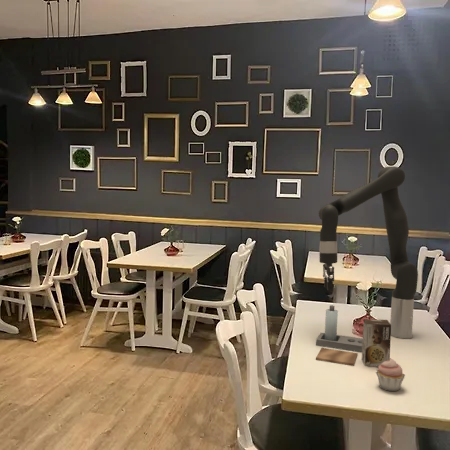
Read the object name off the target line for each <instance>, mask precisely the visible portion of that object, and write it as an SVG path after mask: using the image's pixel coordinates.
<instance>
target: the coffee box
mask: <svg viewBox="0 0 450 450" xmlns="http://www.w3.org/2000/svg"><path fill="white" fill-rule="evenodd" d="M391 337H392V335H391V324H390V321H389V320H388V319H377V318H375V319H373V318H372V319H371V318H363V326H362V338H363V342H362V352H361V361H362V363H363V367H364V366H365V367H379V365H381V364H382V363H383V362H385V361H389V359H390V358H391V339H392V338H391Z"/></svg>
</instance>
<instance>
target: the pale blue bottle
mask: <svg viewBox="0 0 450 450" xmlns="http://www.w3.org/2000/svg"><path fill="white" fill-rule="evenodd" d="M335 308H336V307H335V305H334V304H333V305H329V307H328V309H326V310H325V323H324V324H325V326H324V333H325V340H332V341H336V336H337V335H338V334H337V333H338V316H339V315H338V314H339V313H338V312H339V310H337V309H335Z"/></svg>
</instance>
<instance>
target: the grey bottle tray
mask: <svg viewBox="0 0 450 450" xmlns="http://www.w3.org/2000/svg"><path fill="white" fill-rule="evenodd" d="M362 342H363V337H362V338H361V337H355V336H349V335H341V334H337V336H336V341H332V340H325V332H320V333H319V334H318V336H317V338H316V339H315V346H317V347H318V346H319V347H323V348H329V349H336V350H337V349H338V350H342V351H349V352H356V353H362Z"/></svg>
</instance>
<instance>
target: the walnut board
mask: <svg viewBox="0 0 450 450" xmlns="http://www.w3.org/2000/svg"><path fill="white" fill-rule="evenodd" d="M358 353H359V352H354V351H348V350H341V349H338V350H337V349H335V348H328V347H321V348H320V350H319V352H318V353H317V356H316V357H315V360H316V361H322V362H329V363H334V364H340V365H345V366H346V365H347V366H351V367H354V366H355V364H356V360H357V357H358Z"/></svg>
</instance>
